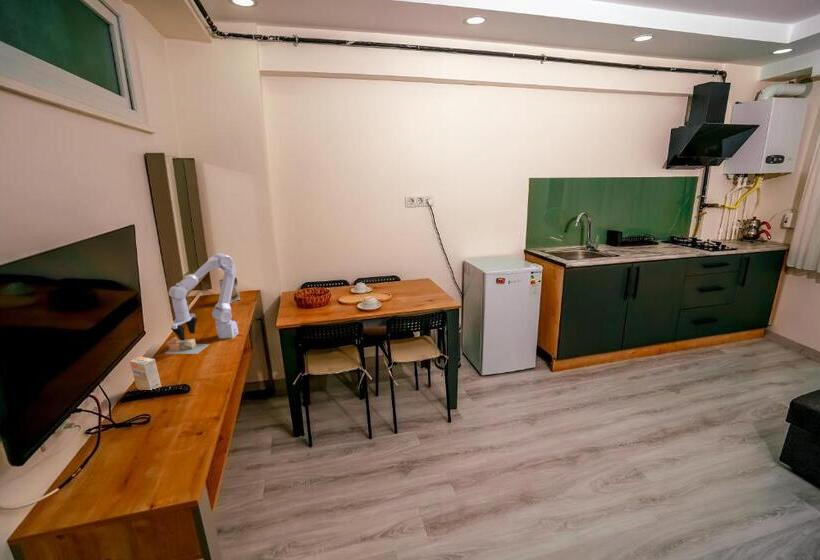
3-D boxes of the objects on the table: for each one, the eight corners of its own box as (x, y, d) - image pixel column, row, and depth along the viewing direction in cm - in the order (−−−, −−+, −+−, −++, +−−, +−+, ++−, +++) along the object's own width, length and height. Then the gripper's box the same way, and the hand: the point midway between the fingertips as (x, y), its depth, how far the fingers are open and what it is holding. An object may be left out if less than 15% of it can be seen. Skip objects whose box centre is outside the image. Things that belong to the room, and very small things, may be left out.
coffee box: (228, 304, 244) (224, 281, 240) (222, 303, 248) (218, 280, 243) (240, 300, 252) (236, 277, 247) (234, 299, 255) (230, 276, 250)
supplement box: (136, 390, 150) (128, 361, 147) (148, 383, 155) (140, 355, 151) (151, 393, 148) (143, 364, 144) (162, 387, 152) (155, 358, 148)
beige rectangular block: (196, 346, 185) (194, 339, 184) (192, 349, 182) (190, 341, 181) (181, 346, 186) (179, 338, 185) (177, 349, 183) (175, 341, 182)
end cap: (187, 344, 187) (185, 336, 186) (179, 350, 181) (177, 342, 180) (177, 344, 187) (175, 336, 186) (168, 350, 182) (166, 342, 180)
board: (210, 345, 187) (210, 344, 187) (198, 355, 178) (197, 353, 178) (178, 345, 189) (178, 343, 188) (164, 354, 179) (164, 353, 179)
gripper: (183, 305, 185) (189, 330, 189) (162, 316, 172) (169, 343, 176) (197, 305, 185) (202, 330, 189) (177, 316, 171) (183, 343, 175)
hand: (187, 336), depth 182 cm, fingers open, 7 cm apart
